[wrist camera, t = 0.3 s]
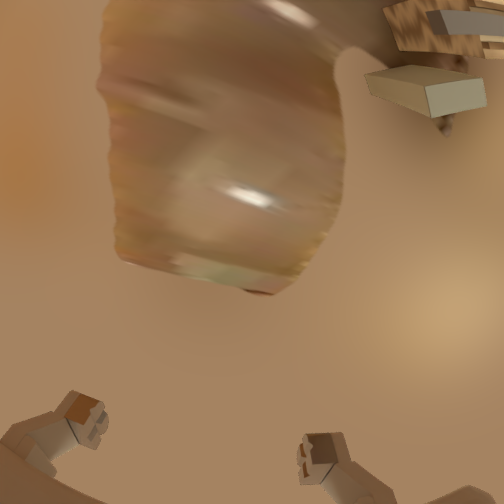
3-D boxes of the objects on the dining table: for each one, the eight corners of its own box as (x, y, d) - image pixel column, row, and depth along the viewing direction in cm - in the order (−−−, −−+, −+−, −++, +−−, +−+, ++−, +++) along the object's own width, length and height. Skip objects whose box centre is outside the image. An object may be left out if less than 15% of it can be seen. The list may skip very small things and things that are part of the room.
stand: (381, 8, 31) (468, -12, 10) (432, 6, 28) (522, 2, 6) (399, 50, 37) (492, 60, 15) (446, 45, 33) (539, 62, 12)
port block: (364, 74, 42) (424, 86, 24) (411, 64, 38) (482, 77, 21) (371, 94, 44) (431, 118, 27) (417, 83, 41) (487, 106, 23)
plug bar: (425, 11, 15) (439, 9, 13) (523, 21, 9) (536, 24, 7) (433, 34, 17) (448, 34, 15) (528, 39, 11) (541, 42, 9)
